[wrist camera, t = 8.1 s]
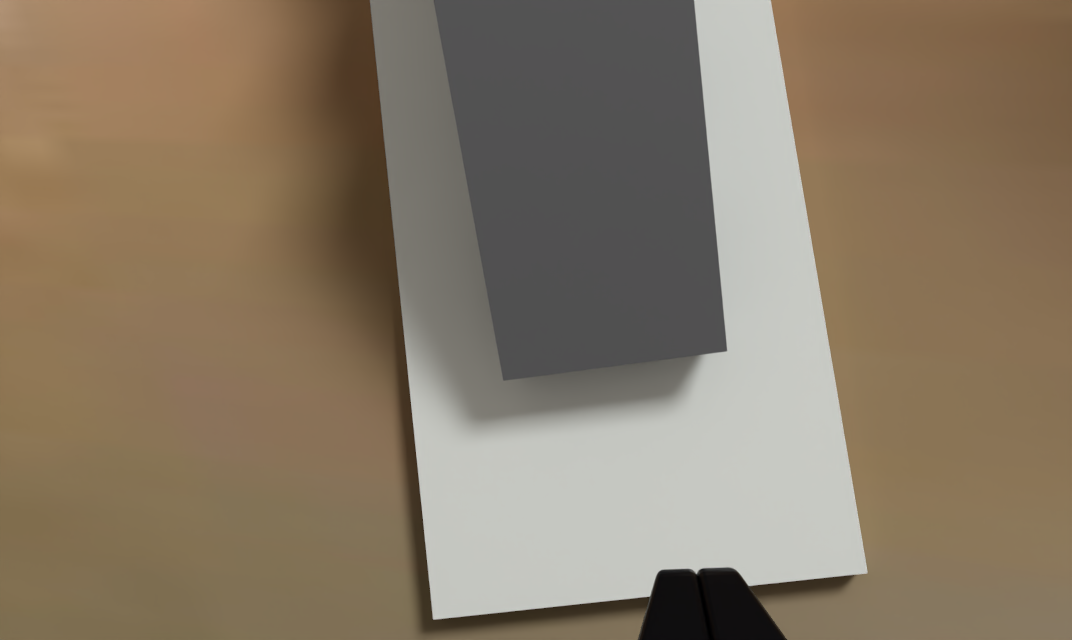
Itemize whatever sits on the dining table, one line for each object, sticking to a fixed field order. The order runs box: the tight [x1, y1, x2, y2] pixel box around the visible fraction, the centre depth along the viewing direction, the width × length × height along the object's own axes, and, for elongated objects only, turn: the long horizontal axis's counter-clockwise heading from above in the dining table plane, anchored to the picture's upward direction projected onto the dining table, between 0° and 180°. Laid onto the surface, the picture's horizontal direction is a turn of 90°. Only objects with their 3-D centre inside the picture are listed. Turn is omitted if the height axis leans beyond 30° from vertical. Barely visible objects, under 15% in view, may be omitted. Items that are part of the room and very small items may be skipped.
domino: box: [434, 0, 727, 381], centre depth 19 cm, size 2×5×10 cm
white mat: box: [370, 0, 868, 620], centre depth 22 cm, size 20×10×1 cm, turn 7°
